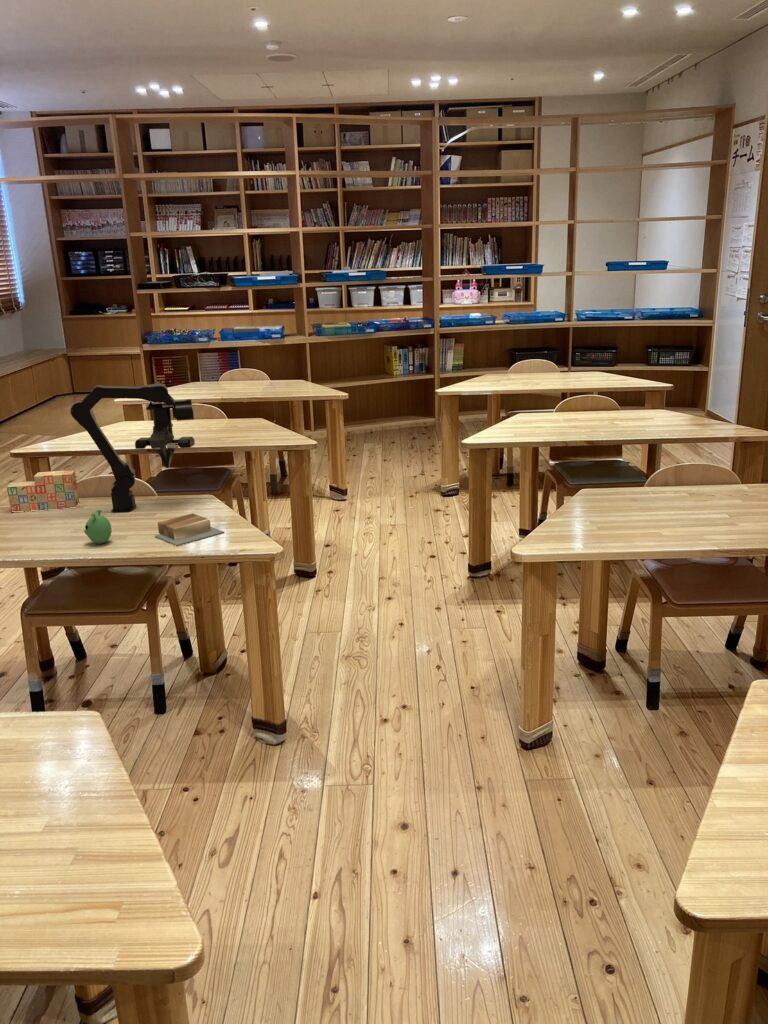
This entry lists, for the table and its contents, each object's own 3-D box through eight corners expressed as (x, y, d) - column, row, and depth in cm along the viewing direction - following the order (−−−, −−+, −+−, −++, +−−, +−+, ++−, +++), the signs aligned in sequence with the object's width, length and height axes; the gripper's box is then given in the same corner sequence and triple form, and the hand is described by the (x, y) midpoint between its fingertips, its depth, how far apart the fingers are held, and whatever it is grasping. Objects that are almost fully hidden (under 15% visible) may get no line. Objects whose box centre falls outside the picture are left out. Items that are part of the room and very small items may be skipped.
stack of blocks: (10, 513, 273) (4, 478, 270) (15, 508, 279) (9, 474, 276) (76, 508, 277) (71, 473, 273) (80, 503, 283) (75, 469, 279)
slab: (157, 522, 243) (174, 528, 236) (192, 513, 251) (209, 519, 244) (158, 533, 244) (175, 540, 237) (193, 524, 252) (211, 530, 245)
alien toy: (91, 539, 242) (86, 507, 240) (116, 539, 242) (112, 507, 239) (82, 547, 236) (77, 514, 233) (108, 546, 235) (103, 513, 232)
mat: (154, 537, 242) (154, 535, 242) (201, 524, 253) (201, 523, 253) (177, 546, 233) (176, 544, 233) (224, 533, 244) (224, 531, 244)
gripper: (126, 427, 261) (132, 474, 266) (182, 425, 260) (187, 473, 264) (138, 421, 272) (144, 466, 276) (192, 419, 270) (197, 465, 275)
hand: (167, 467), depth 273 cm, fingers closed
